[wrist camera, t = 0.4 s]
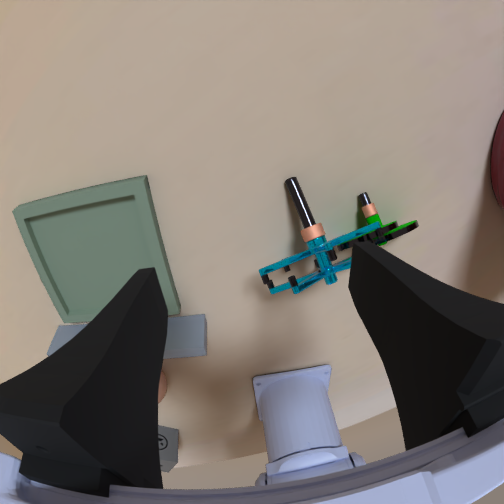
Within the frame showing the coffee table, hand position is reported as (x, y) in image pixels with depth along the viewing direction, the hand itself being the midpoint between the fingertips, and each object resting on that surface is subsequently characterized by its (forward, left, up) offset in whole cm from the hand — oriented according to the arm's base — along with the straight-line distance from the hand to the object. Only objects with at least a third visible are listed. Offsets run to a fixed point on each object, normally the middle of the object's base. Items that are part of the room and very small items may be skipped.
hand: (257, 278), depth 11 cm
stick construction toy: (-3, -6, -10) cm, 12 cm away
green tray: (-4, +11, -10) cm, 15 cm away
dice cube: (-31, +15, -10) cm, 36 cm away
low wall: (-11, +11, -10) cm, 18 cm away
